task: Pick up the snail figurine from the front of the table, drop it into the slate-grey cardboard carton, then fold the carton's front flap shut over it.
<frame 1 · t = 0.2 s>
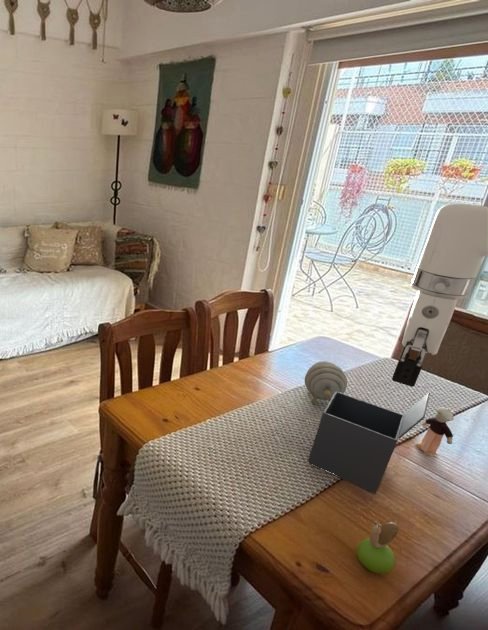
hand: (406, 372, 78), 32 cm above the table, tool pointing down, fingers open, 9 cm apart
flap: (414, 415, 91), point 18 cm above the table, hinge at 110.0°
carton: (345, 464, 103), on the table
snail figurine: (368, 567, 79), on the table
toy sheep: (319, 399, 128), on the table
grandmother figurine: (427, 452, 108), on the table
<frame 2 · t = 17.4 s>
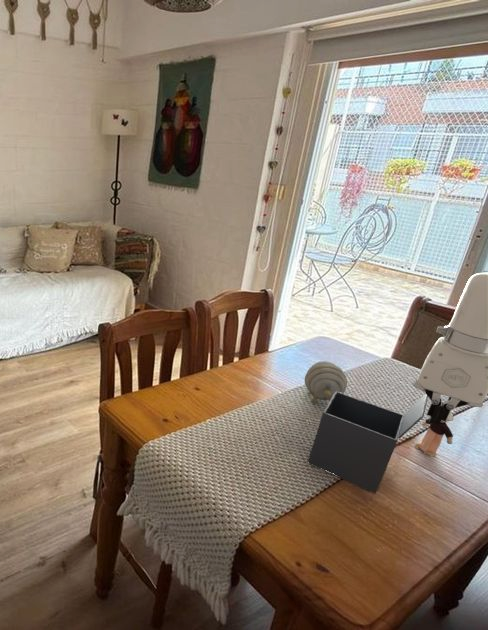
hand: (434, 420, 89), 19 cm above the table, tool pointing down, fingers closed
flap: (413, 414, 91), point 18 cm above the table, hinge at 108.2°, touching gripper
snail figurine: (345, 464, 102), resting on carton
everything else where it was.
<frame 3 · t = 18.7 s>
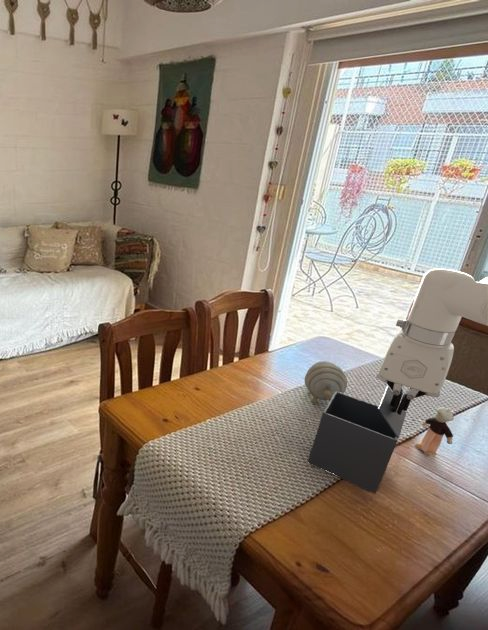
hand: (396, 410, 93), 18 cm above the table, tool pointing down, fingers closed
flap: (392, 410, 93), point 17 cm above the table, hinge at 46.2°, touching gripper
everything else where it was.
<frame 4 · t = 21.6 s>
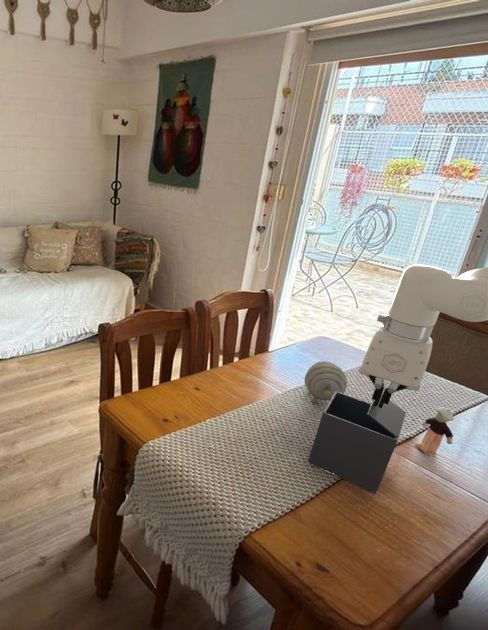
hand: (378, 404, 95), 18 cm above the table, tool pointing down, fingers closed
flap: (387, 413, 94), point 16 cm above the table, hinge at 25.1°, touching gripper
everything else where it was.
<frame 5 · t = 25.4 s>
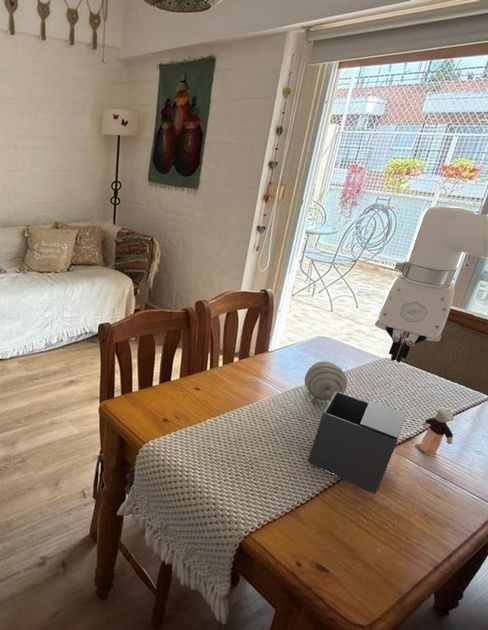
hand: (396, 358, 90), 29 cm above the table, tool pointing down, fingers closed
flap: (383, 418, 95), point 15 cm above the table, hinge at 0.0°
everything else where it was.
at the end: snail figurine inside the target area in the carton (0.6 cm from its centre), point 0.2 cm above the carton's base; flap at +0° (first picture: +110°) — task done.
